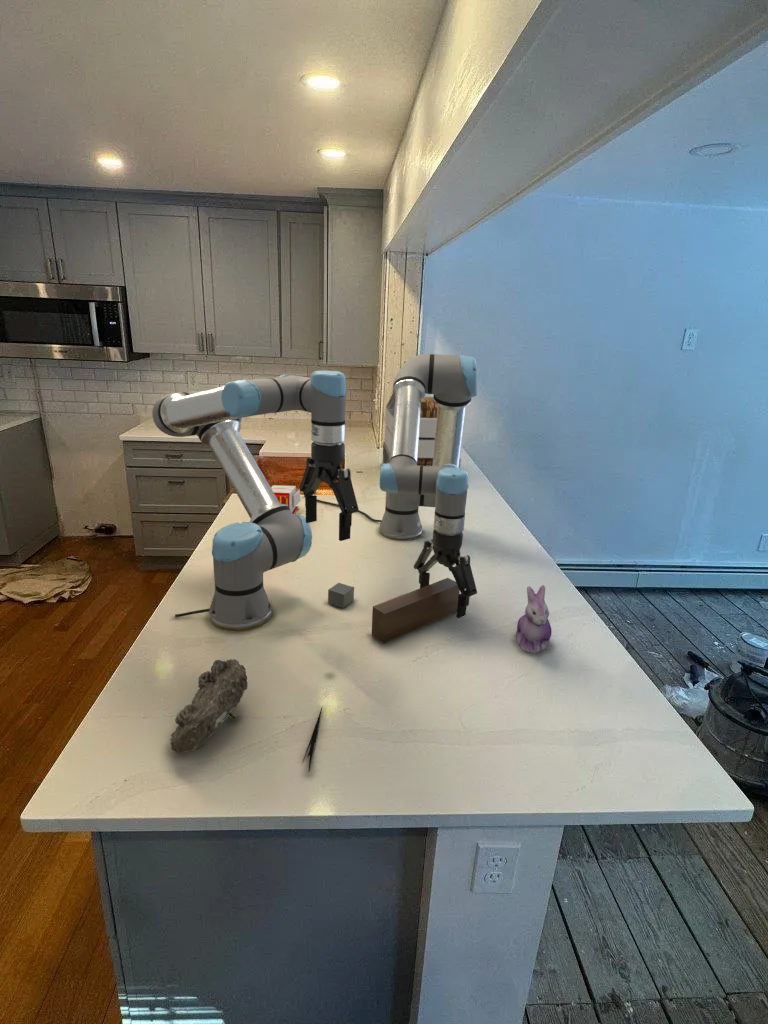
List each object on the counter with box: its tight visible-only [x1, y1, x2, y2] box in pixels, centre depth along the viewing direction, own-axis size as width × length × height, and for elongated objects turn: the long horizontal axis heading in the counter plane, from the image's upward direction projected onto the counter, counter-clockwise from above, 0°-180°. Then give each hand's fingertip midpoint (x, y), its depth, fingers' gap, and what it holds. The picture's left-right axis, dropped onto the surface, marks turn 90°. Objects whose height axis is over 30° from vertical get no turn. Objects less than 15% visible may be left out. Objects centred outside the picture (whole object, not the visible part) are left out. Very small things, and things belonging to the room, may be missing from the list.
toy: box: [270, 484, 301, 514], centre depth 208 cm, size 12×13×30 cm
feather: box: [301, 673, 332, 771], centre depth 108 cm, size 2×28×2 cm
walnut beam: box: [371, 577, 461, 645], centre depth 143 cm, size 4×26×8 cm, turn 131°
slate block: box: [327, 582, 355, 609], centre depth 152 cm, size 5×5×4 cm
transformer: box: [381, 393, 463, 469], centre depth 268 cm, size 34×33×41 cm
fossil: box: [170, 658, 249, 753], centre depth 106 cm, size 22×10×15 cm
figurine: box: [515, 584, 552, 654], centre depth 134 cm, size 9×10×15 cm
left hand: (327, 530), depth 134 cm, fingers open, 13 cm apart
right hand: (441, 605), depth 149 cm, fingers open, 13 cm apart
